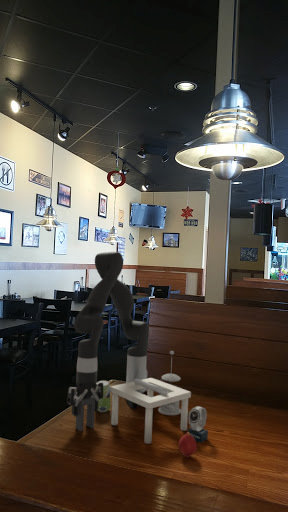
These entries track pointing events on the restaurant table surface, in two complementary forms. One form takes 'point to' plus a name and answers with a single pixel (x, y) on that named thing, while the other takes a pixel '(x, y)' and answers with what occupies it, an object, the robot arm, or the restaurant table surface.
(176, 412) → the french press
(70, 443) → the restaurant table surface
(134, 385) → the square frame stand
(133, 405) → the mobile phone
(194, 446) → the onion
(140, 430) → the restaurant table surface
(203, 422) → the watch
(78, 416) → the grey u-shaped bracket
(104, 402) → the beverage can
